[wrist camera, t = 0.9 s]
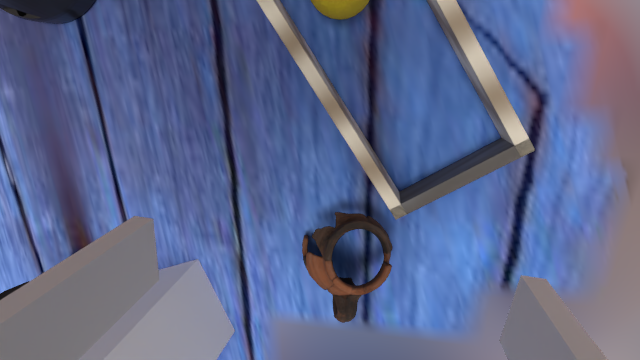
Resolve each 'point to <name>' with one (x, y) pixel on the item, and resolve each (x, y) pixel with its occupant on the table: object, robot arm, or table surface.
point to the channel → (399, 203)
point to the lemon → (340, 7)
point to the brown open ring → (323, 266)
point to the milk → (169, 321)
